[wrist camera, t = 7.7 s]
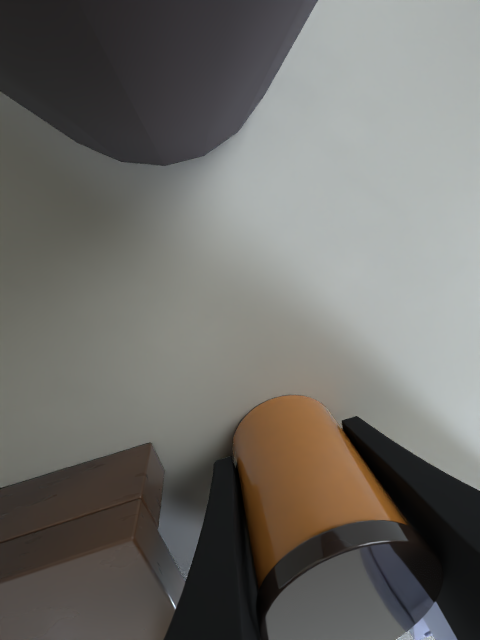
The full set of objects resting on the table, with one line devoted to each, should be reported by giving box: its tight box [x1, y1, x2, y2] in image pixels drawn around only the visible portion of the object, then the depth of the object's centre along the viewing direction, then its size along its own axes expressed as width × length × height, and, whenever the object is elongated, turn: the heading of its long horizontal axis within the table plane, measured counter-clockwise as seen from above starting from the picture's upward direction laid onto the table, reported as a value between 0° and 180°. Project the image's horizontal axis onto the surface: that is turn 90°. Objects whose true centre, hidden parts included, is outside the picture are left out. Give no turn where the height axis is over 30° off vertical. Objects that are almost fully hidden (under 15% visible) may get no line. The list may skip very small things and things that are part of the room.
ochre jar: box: [232, 395, 444, 640], centre depth 9 cm, size 5×5×6 cm
